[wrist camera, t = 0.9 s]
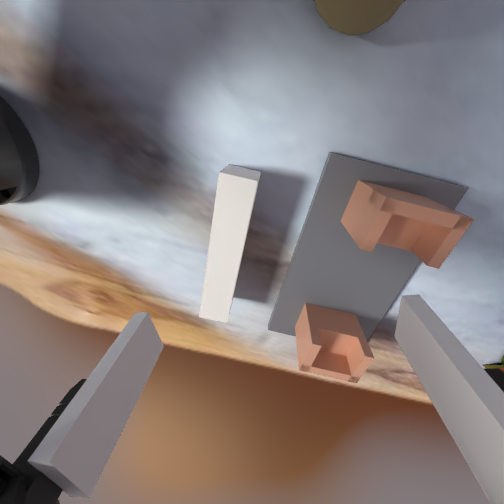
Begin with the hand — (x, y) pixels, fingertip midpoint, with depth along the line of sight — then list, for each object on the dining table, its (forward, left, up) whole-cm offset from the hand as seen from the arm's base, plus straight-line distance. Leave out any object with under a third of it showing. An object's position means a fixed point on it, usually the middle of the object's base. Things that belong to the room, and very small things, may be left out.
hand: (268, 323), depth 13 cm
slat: (-4, -6, -21) cm, 22 cm away
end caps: (+13, -6, -21) cm, 25 cm away
